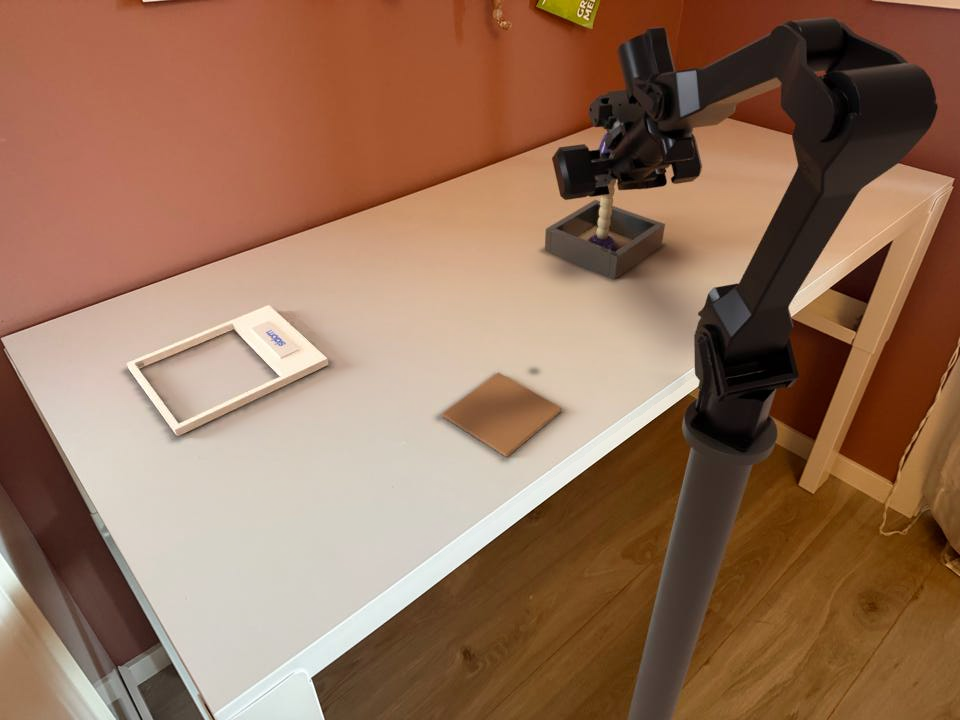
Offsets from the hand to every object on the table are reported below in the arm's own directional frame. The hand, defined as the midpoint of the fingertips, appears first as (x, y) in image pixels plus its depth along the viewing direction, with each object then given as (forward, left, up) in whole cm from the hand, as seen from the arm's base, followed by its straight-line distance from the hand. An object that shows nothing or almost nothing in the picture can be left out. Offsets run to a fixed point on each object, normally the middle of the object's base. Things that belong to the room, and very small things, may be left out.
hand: (605, 188), depth 99 cm
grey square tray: (-1, +1, -9) cm, 9 cm away
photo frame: (+16, +52, -9) cm, 55 cm away
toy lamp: (-1, +1, -9) cm, 9 cm away
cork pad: (-13, +37, -9) cm, 40 cm away
